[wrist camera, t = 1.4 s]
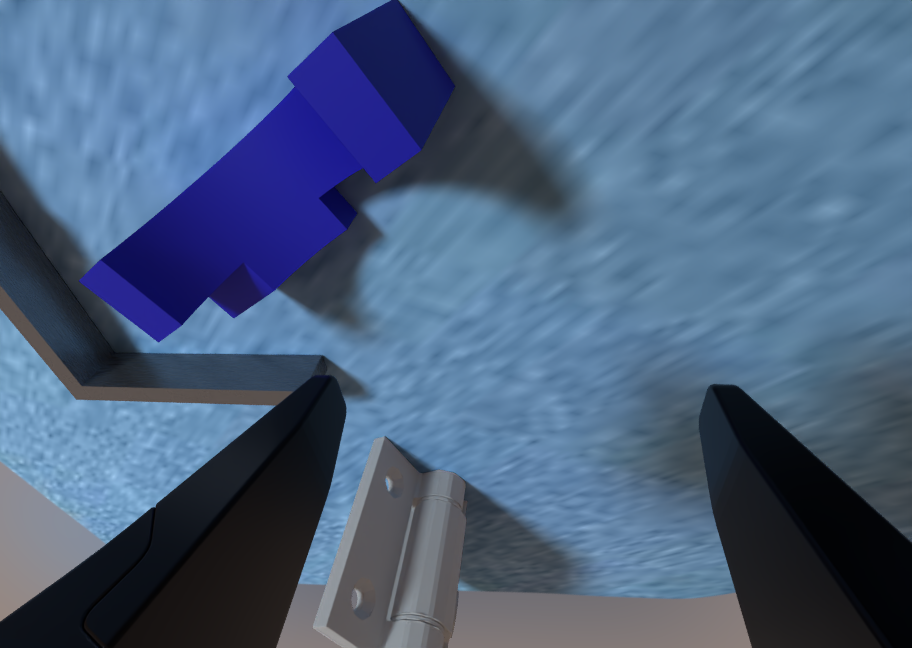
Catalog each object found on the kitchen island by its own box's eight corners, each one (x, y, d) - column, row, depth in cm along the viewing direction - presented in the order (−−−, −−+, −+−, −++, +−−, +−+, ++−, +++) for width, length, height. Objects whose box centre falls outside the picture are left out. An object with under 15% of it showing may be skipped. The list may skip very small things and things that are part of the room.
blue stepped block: (265, 277, 23) (194, 369, 18) (182, 200, 21) (78, 280, 16) (482, 123, 17) (458, 199, 13) (396, -3, 15) (332, 32, 11)
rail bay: (126, -173, 13) (27, -195, 11) (327, 369, 26) (303, 419, 23) (-234, -100, 16) (-385, -104, 13) (108, 366, 28) (64, 411, 25)
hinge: (372, 434, 29) (309, 625, 21) (464, 439, 28) (435, 639, 20) (406, 555, 37) (371, 722, 29) (478, 561, 36) (461, 735, 29)
